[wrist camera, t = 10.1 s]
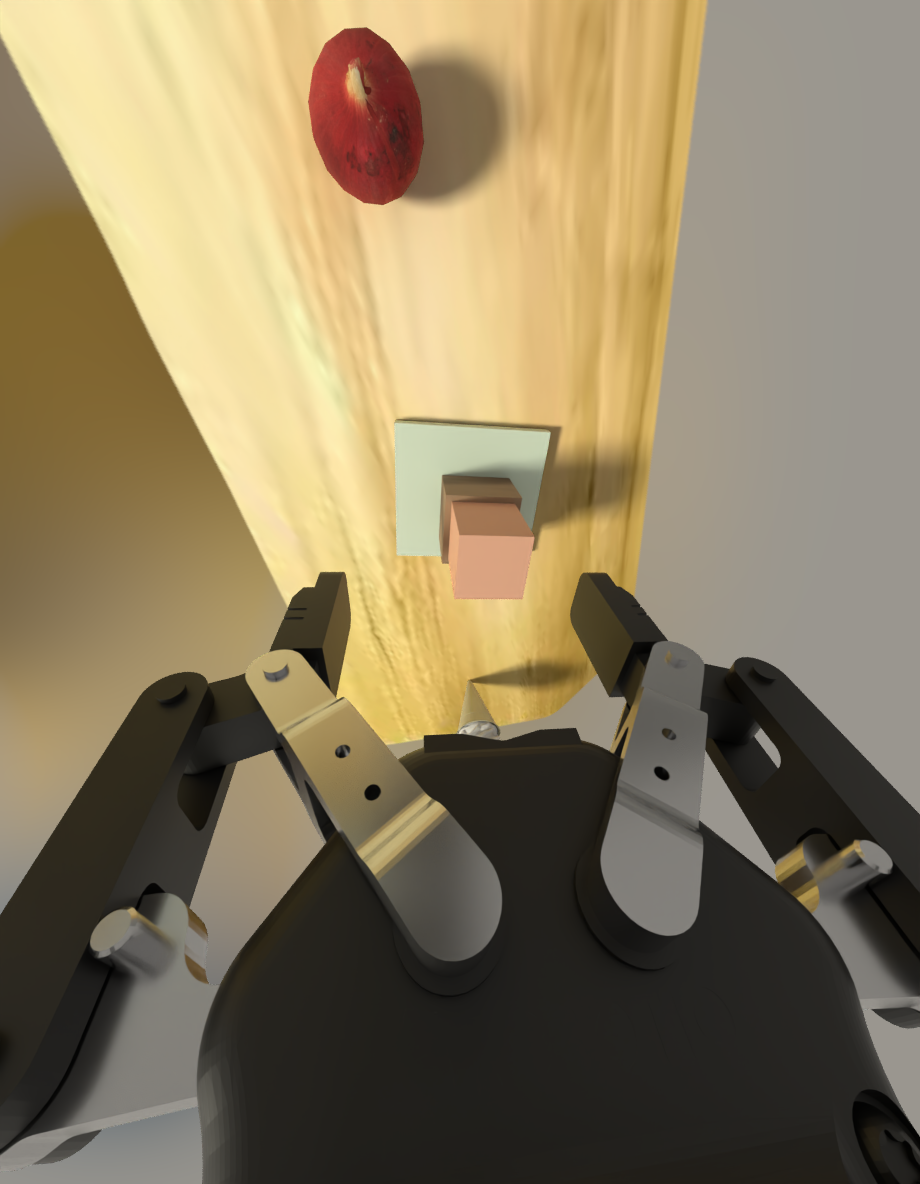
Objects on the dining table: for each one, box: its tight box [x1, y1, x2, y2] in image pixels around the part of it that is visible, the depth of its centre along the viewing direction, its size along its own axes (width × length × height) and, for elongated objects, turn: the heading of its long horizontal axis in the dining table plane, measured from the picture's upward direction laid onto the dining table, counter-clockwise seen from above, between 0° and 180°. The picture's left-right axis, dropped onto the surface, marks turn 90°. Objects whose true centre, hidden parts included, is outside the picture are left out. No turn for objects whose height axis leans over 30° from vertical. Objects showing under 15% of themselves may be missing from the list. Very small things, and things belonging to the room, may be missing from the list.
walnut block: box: [439, 475, 522, 564], centre depth 33 cm, size 6×6×5 cm
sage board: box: [395, 420, 551, 556], centre depth 35 cm, size 12×13×1 cm
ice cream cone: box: [456, 680, 500, 740], centre depth 44 cm, size 5×5×15 cm
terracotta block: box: [448, 501, 535, 599], centre depth 29 cm, size 5×5×6 cm
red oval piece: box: [308, 27, 424, 205], centre depth 20 cm, size 6×6×8 cm
